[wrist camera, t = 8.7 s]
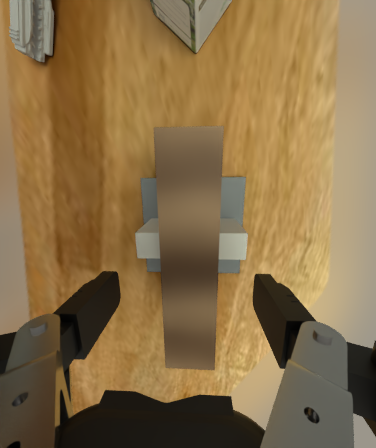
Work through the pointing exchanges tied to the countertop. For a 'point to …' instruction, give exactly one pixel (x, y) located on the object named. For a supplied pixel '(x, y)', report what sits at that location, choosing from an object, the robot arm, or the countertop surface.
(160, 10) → the syrup box
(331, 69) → the countertop surface
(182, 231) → the walnut bar
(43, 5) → the light grey flat bar
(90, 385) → the countertop surface
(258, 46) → the countertop surface
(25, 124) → the countertop surface
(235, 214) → the board
